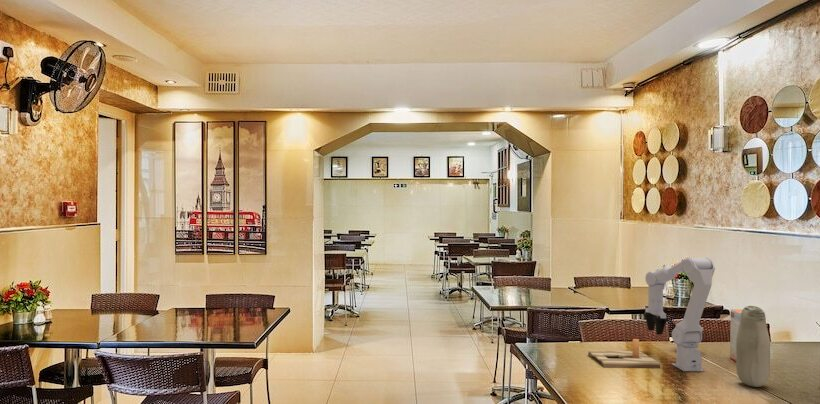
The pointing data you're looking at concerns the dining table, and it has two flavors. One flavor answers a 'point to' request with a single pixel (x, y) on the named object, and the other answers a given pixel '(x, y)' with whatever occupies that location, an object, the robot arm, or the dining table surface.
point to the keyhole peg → (635, 348)
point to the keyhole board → (624, 359)
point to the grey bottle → (753, 348)
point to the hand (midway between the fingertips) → (655, 332)
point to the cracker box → (734, 331)
